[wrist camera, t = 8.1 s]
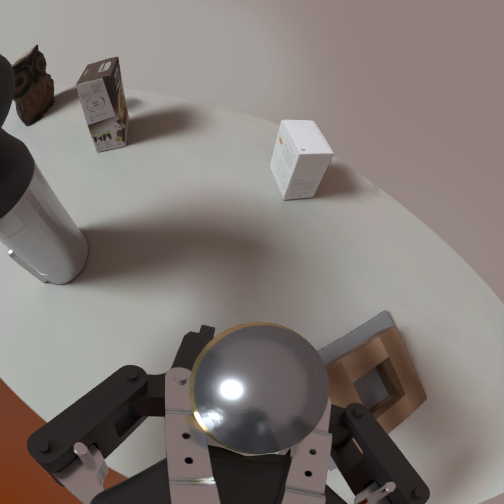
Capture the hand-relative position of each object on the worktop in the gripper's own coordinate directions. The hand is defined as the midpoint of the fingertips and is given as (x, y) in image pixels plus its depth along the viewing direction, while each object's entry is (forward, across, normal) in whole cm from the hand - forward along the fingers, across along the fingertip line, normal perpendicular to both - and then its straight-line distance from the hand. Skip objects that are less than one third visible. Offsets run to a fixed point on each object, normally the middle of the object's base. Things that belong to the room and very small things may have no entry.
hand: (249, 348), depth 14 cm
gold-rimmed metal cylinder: (+2, 0, -5) cm, 6 cm away
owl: (+45, -67, +17) cm, 82 cm away
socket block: (+12, +18, -14) cm, 25 cm away
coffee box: (+38, -32, +10) cm, 51 cm away
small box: (+36, +4, +7) cm, 37 cm away
